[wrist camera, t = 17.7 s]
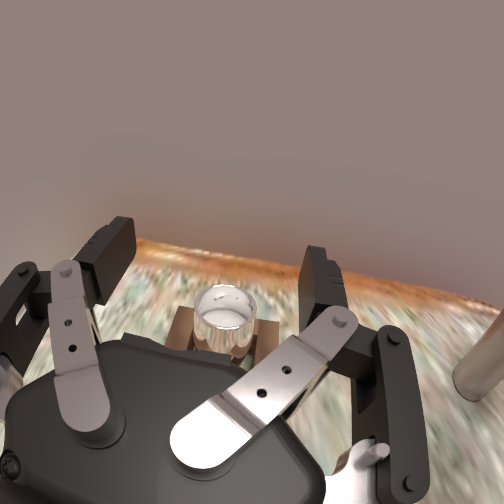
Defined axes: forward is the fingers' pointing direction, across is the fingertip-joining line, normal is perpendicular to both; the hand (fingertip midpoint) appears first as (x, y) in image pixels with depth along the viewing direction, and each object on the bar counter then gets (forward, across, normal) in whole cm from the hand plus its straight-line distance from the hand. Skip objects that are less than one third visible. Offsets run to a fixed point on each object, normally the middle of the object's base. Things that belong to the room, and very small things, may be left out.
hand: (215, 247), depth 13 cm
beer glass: (+11, 0, +30) cm, 32 cm away
